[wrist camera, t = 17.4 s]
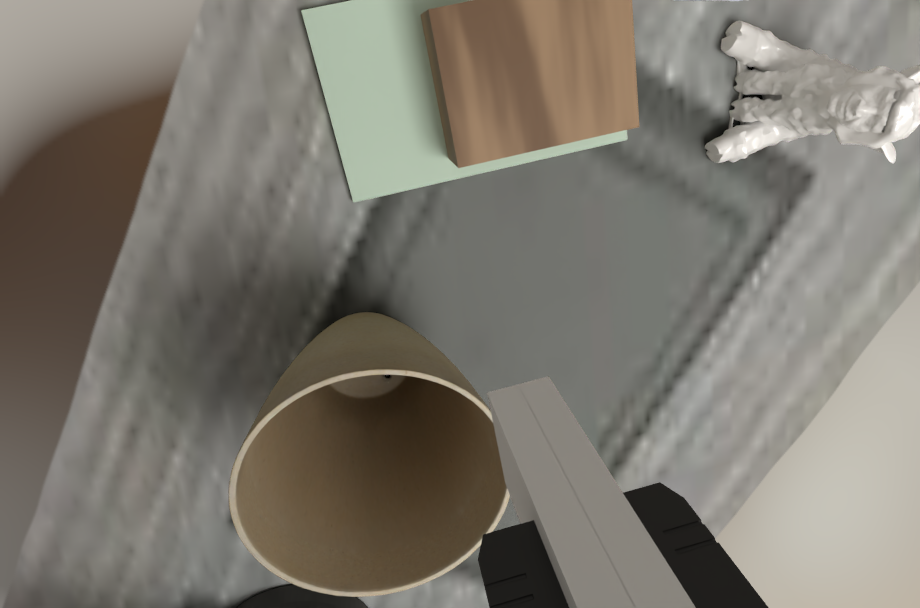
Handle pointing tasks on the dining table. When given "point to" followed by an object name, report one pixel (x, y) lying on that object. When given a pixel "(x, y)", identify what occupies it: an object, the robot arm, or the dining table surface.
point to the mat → (392, 98)
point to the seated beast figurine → (811, 98)
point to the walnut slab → (530, 74)
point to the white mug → (706, 0)
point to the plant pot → (368, 464)
